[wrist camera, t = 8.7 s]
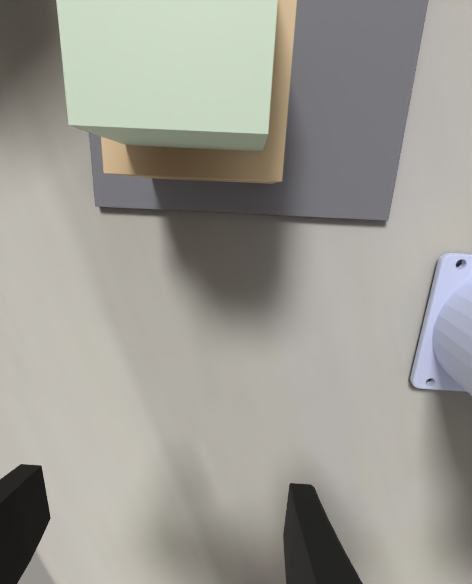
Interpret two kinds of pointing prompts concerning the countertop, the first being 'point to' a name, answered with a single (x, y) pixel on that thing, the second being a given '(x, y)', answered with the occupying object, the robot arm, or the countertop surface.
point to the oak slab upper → (216, 160)
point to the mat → (316, 122)
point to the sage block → (170, 70)
